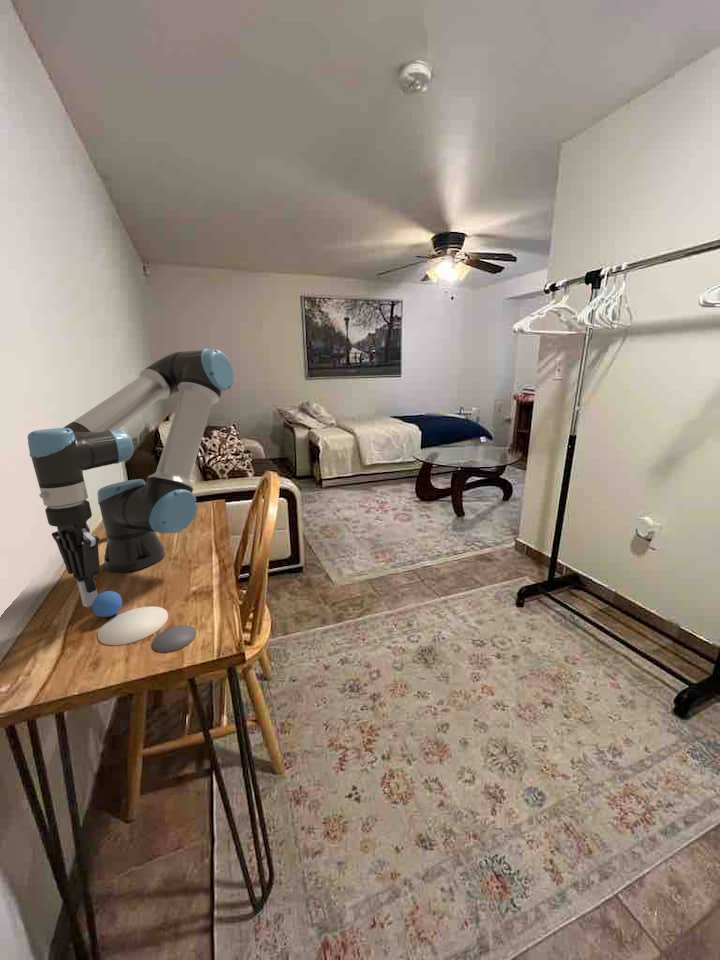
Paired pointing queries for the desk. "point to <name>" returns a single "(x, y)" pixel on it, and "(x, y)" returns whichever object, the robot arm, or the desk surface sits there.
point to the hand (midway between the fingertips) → (91, 603)
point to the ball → (107, 604)
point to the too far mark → (174, 638)
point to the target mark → (132, 625)
